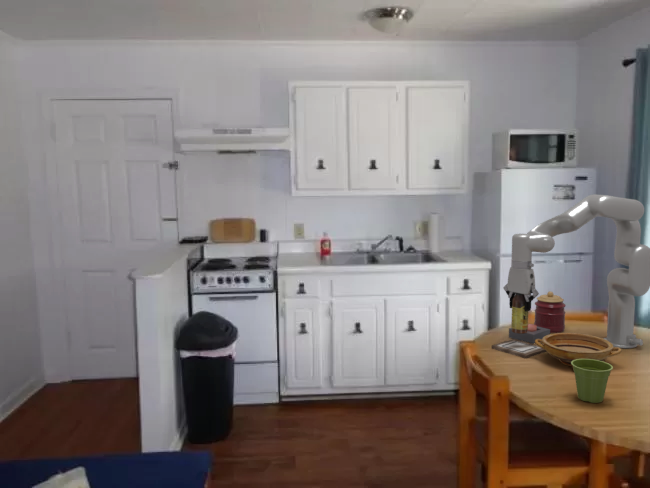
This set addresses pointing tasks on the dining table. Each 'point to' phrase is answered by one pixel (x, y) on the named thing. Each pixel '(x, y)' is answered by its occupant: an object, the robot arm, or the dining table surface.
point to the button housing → (530, 335)
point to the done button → (532, 328)
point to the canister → (550, 313)
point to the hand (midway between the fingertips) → (520, 308)
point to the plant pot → (591, 379)
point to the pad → (519, 348)
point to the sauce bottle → (519, 315)
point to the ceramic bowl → (577, 347)
